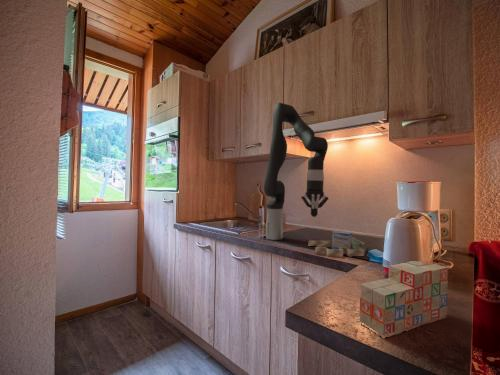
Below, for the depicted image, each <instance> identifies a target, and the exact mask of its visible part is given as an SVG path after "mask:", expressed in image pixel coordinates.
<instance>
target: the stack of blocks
mask: <svg viewBox="0 0 500 375" xmlns="http://www.w3.org/2000/svg"><path fill="white" fill-rule="evenodd" d="M448 278H449V267H448V266H443V265H441V264H437V263H433V262H428V261H425V260H421V259H420V260H417V261H409V262H406V263H400V264H395V265H389V266H388V278H382V279H378V280H373V281H370V282H369V281H368V282H363V283H361V284H360V297H359V322H360V321H361V322H362V323H364V324H366V325H367V326H369V327H370V328H372V329H373V330H375V331H377V332H379V333H380V334H382V335H385V334H388V333H391V332H396V331H399V330H402V329H405V328H407V327H411V326H413V325H414V324H418V323H423V322H426V321H429V320H432V319H435V318H440V317H443V316H445V315H447V316H448V293H449V279H448Z"/></svg>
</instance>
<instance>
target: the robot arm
mask: <svg viewBox="0 0 500 375" xmlns="http://www.w3.org/2000/svg"><path fill="white" fill-rule="evenodd" d="M283 123H288V124H290V125H292V126H293V132H294V133H295V135H296V136H297V137H298V138H299V139H300V140H301V143H302V145H303V146H304V148H305V149H306V150H307V151H309V152H312V153H314V156H312V157H309V158H308V160H307V173H306V191H305V193H304V195H302V196H300V199H301V200H302V201H303V204H305V205H306V207H308V208H310V216H311V217H314V218H315V217H317V216H318V209H319V208H322V207H323V206H324V205H325V203H327V201H329V197H328V196H327V195H325V192H324V180H325V178H324V177H325V175H324V166H325V165H324V162H325V158H326V155H327V151H328V147H329V145H328V144H329V142H328V140H327V139H326V138H324V137H322V136H315V133H316V132H315V131H314V130H313V129H312V128H311V127H310V126H309V125H308V124H307V122H305V121H304V120H303V119H302V118H301V116H300V114H299V112H298V111H297V110H296V109H295V107H294V106H293V105H290V104H287V103H283V102H278V103H277V104H275V106H274V109H273V114H272V133H271V144H270V147H269V148H270V149H269V157H268V158H269V159H268V165H267V172H266V174H265V175H266V177H265V180H264V185H263V191H264V194H265V196H267V197H271V198H270V201H268V202H267V203H266V222H265V237H266V240H273V241H279V240H283V238H284V237H283V234H284V233H283V231H284V230H283V229H284V228H283V227H284V226H283V225H284V224H283V223H284V219H283V218H284V215H283V214H284V213H283V212H284V210H283V209H284V208H283V207H284V204H285V198H286V197H285V193H286V188H285V184H284V182H283V181H281V180H278V176H279V172H280V170H281V168H282V167H283V164H284V162H285V161H286V158H287V153H288V143H287V140H286V137H285V134H284V130H283ZM307 199H308V200H309V202H308V200H307ZM321 199H322V200H321Z"/></svg>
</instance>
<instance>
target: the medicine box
mask: <svg viewBox="0 0 500 375" xmlns="http://www.w3.org/2000/svg"><path fill="white" fill-rule="evenodd" d="M351 237H352V232H348V231H347V232H346V231H336V230H334V231H332V237H331V238H332V240H331V241H332V247H331V249H339V247H346V248H348V249H352V247H351Z"/></svg>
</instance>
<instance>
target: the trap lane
mask: <svg viewBox="0 0 500 375" xmlns="http://www.w3.org/2000/svg"><path fill="white" fill-rule="evenodd" d="M307 246H317V247H315V255H321V256H322V255H325V256H327V257H329V258H330V257H331V258H334V257H335V258H336V257H337V258H338V257H340V258H342V257H344V255H343V254H346V255H345V256H347V257H350V258H352V256H364V257H365V255H366V243H365V242H363V241H361V240H359V238H356V237H353V236H351V249H348V248H346V247H339V249H332V240H308V245H307ZM330 248H331V249H330ZM364 254H365V255H364Z"/></svg>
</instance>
